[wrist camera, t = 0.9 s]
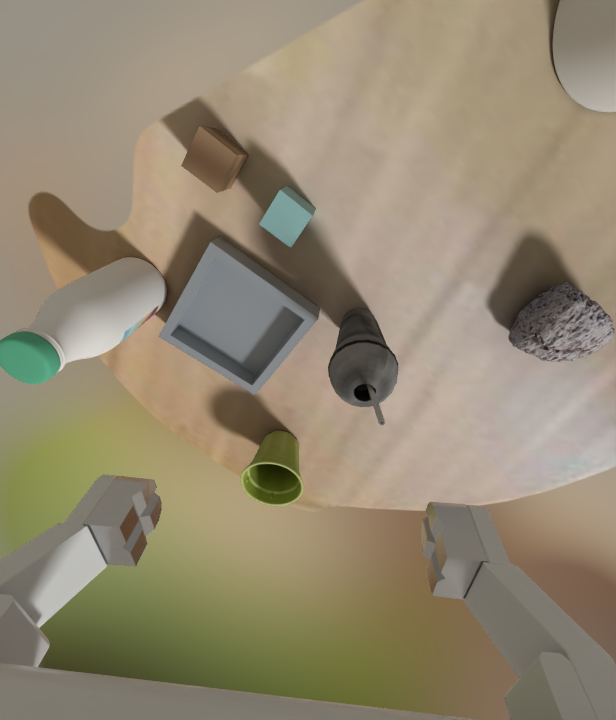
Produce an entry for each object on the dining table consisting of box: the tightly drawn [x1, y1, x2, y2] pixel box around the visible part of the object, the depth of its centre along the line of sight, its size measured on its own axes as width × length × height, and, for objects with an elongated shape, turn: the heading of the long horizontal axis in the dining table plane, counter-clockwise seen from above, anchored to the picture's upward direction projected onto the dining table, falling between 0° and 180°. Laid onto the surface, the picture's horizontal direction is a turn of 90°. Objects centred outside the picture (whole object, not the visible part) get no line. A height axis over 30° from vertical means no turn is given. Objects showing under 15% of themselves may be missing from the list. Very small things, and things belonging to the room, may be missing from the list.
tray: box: [159, 236, 320, 395], centre depth 46 cm, size 15×15×3 cm
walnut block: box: [181, 126, 248, 192], centre depth 36 cm, size 4×4×5 cm
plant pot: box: [241, 431, 303, 506], centre depth 55 cm, size 9×9×9 cm
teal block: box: [259, 186, 316, 248], centre depth 38 cm, size 4×4×5 cm
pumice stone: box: [509, 282, 615, 362], centre depth 41 cm, size 10×8×10 cm
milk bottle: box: [0, 257, 167, 384], centre depth 38 cm, size 8×8×20 cm
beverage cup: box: [328, 308, 398, 425], centre depth 38 cm, size 7×7×20 cm
